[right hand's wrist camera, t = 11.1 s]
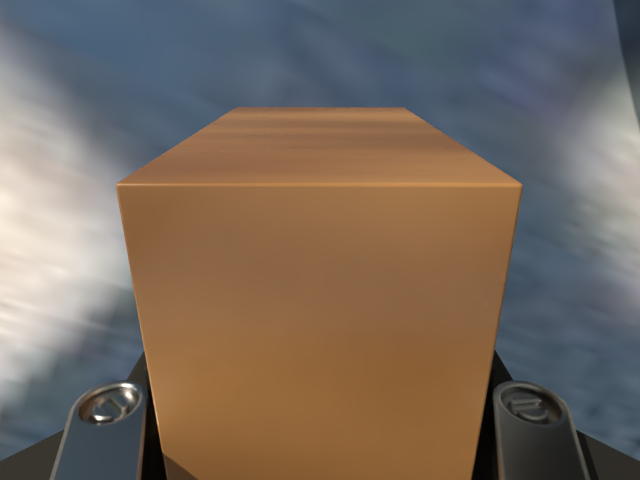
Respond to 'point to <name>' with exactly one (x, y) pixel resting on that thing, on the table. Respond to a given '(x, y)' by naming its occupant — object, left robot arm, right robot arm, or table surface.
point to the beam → (319, 294)
